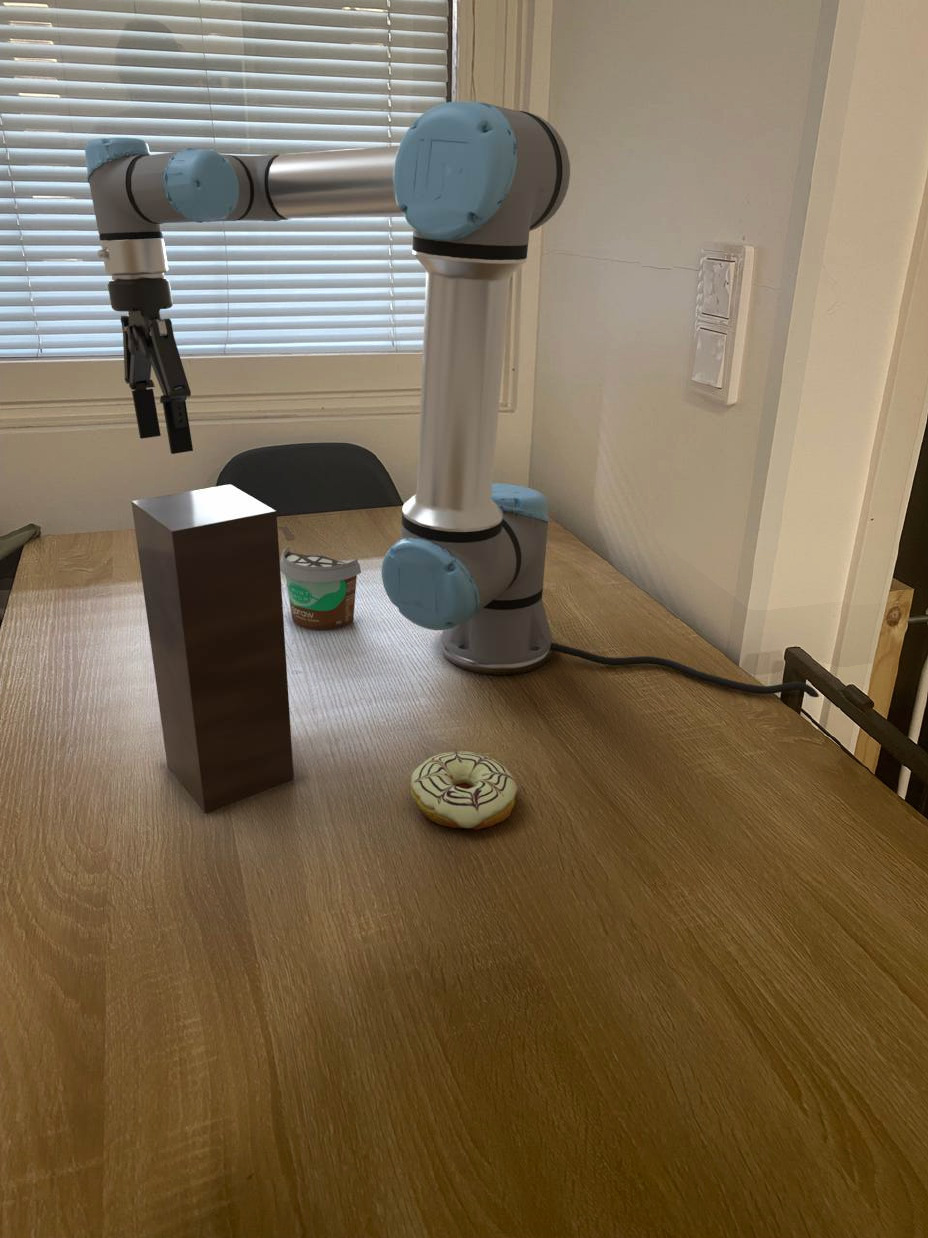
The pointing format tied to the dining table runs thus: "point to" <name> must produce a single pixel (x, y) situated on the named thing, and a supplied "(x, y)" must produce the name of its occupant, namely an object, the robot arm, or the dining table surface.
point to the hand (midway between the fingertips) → (165, 444)
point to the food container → (320, 590)
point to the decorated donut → (463, 790)
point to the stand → (217, 640)
